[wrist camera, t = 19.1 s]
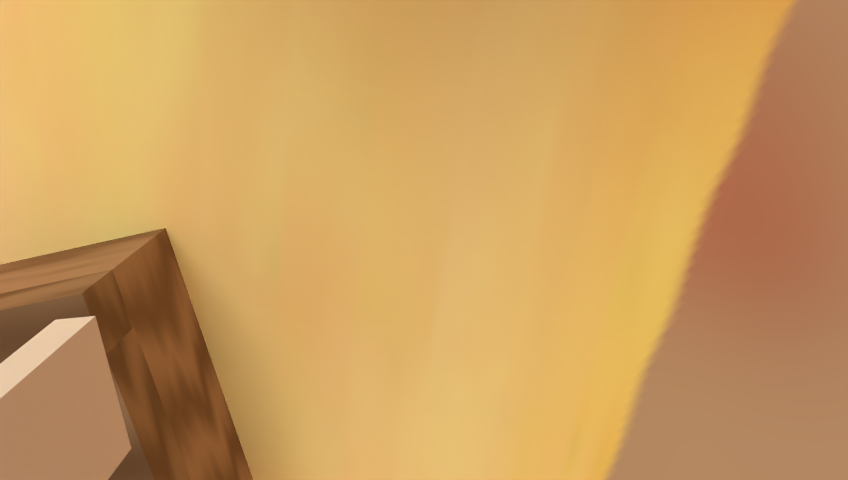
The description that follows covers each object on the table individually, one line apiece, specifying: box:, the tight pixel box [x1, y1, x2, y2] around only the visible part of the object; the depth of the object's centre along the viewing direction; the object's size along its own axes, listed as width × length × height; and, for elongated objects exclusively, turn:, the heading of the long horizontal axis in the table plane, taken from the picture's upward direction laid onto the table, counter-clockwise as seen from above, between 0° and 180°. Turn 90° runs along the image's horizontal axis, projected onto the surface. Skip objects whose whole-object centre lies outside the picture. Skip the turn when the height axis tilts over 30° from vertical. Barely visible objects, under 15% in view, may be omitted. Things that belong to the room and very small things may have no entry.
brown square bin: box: [0, 228, 253, 480], centre depth 50 cm, size 20×20×12 cm
